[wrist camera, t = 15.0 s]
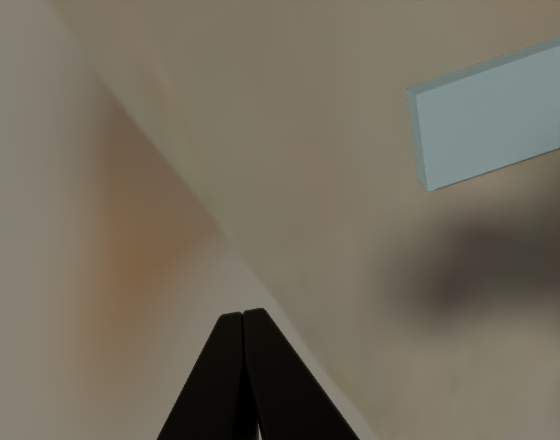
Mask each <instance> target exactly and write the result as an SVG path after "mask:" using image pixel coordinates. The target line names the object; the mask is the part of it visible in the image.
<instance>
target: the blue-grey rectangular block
mask: <svg viewBox="0 0 560 440" xmlns="http://www.w3.org/2000/svg"><path fill="white" fill-rule="evenodd" d="M406 95H407V102H408V109H409V117H410V124H411V131H412V138H413V146H414V153H415V160H416V168H417V175H418V182H419V183H420V184H421V185H422V186H423V187H424V188H425V189H426V190H427V191H428V192H429V191H432V190H435V189H438V188H441V187H444V186H447V185H450V184H453V183H456V182H459V181H462V180H465V179H468V178H471V177H474V176H477V175H480V174H483V173H486V172H489V171H492V170H495V169H498V168H501V167H504V166H507V165H510V164H513V163H516V162H519V161H522V160H525V159H528V158H531V157H534V156H537V155H540V154H543V153H546V152H549V151H552V150H555V149H558V148H560V36H558V37H555V38H552V39H549V40H546V41H543V42H540V43H537V44H534V45H531V46H529V47H526V48H523V49H520V50H517V51H514V52H511V53H508V54H505V55H502V56H500V57H497V58H494V59H491V60H488V61H485V62H482V63H479V64H476V65H473V66H471V67H468V68H465V69H462V70H459V71H456V72H453V73H450V74H447V75H444V76H441V77H439V78H436V79H433V80H430V81H427V82H424V83H421V84H418V85H415V86H412V87H410V88H407V89H406Z"/></svg>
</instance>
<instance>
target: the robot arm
mask: <svg viewBox="0 0 560 440" xmlns="http://www.w3.org/2000/svg"><path fill="white" fill-rule="evenodd" d="M258 424H259V427H258ZM259 429H260V433H261V438H262V440H360V439H359V438H358V437H357V435H356V434H355V433H354V431H353V430H352V428H351V427H350V426H349V424H348V423H347V422H346V420H345V419H344V417H343V416H342V415H341V413H340V412H339V410H338V409H337V408H336V406H335V405H334V404H333V402H332V401H331V400H330V398H329V397H328V395H327V394H326V393H325V391H324V390H323V389H322V387H321V386H320V384H319V383H318V381H317V380H316V379H315V377H314V376H313V375H312V373H311V372H310V370H309V369H308V368H307V366H306V365H305V364H304V362H303V361H302V360H301V358H300V357H299V355H298V354H297V353H296V351H295V350H294V348H293V347H292V346H291V344H290V343H289V342H288V340H287V339H286V337H285V336H284V335H283V333H282V332H281V331H280V329H279V328H278V326H277V325H276V324H275V322H274V321H273V320H272V318H271V317H270V315H269V314H268V313H267V311H266V310H265V309H264V308H257V309H251V310H246V311H244V312H243V315H242V313H241V312H233V313H228V314H223V315H221V316H220V317H219V318H218V320H217V322H216V324H215V326H214V328H213V330H212V332H211V334H210V336H209V338H208V340H207V342H206V344H205V346H204V348H203V350H202V352H201V353H200V355H199V358H198V359H197V361H196V363H195V365H194V367H193V369H192V371H191V373H190V375H189V377H188V379H187V381H186V383H185V385H184V387H183V389H182V391H181V393H180V395H179V397H178V399H177V400H176V403H175V405H174V406H173V408H172V410H171V412H170V414H169V416H168V418H167V420H166V422H165V424H164V426H163V428H162V430H161V432H160V434H159V436H158V438H157V440H259Z"/></svg>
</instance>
